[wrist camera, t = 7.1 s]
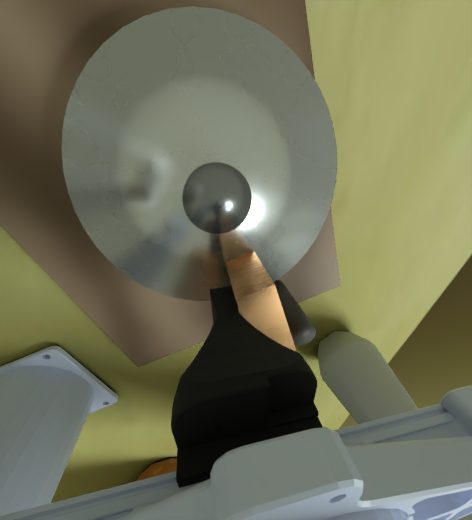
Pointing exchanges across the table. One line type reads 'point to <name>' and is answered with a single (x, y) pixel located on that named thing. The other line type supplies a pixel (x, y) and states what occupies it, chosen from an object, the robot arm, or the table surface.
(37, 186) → the walnut board
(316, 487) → the robot arm
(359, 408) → the salt shaker
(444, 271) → the table surface
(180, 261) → the silver pot lid
